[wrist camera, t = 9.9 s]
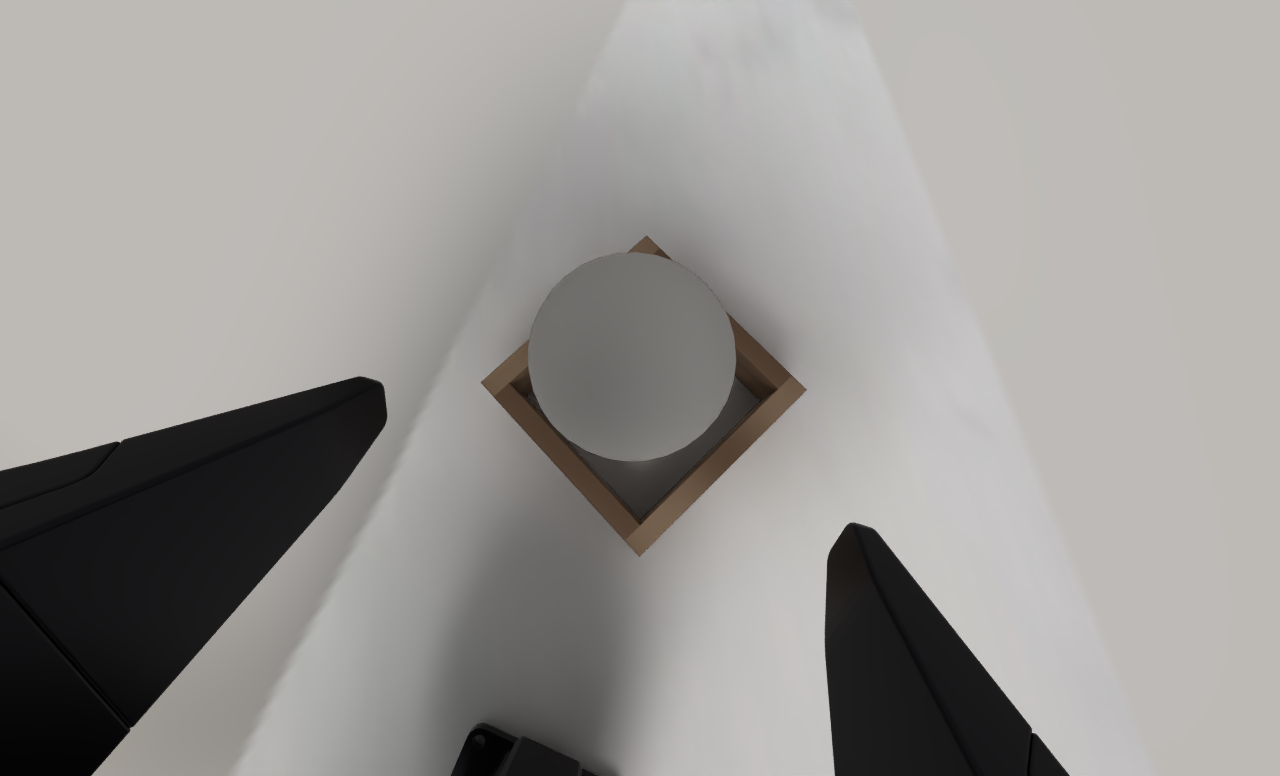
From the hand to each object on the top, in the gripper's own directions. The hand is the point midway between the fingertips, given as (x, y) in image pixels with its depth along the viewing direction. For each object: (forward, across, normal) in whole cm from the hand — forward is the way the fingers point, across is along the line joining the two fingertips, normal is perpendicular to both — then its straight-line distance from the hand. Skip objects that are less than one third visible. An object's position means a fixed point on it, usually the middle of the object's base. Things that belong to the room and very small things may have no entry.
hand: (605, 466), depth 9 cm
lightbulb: (+12, +1, +7) cm, 14 cm away
